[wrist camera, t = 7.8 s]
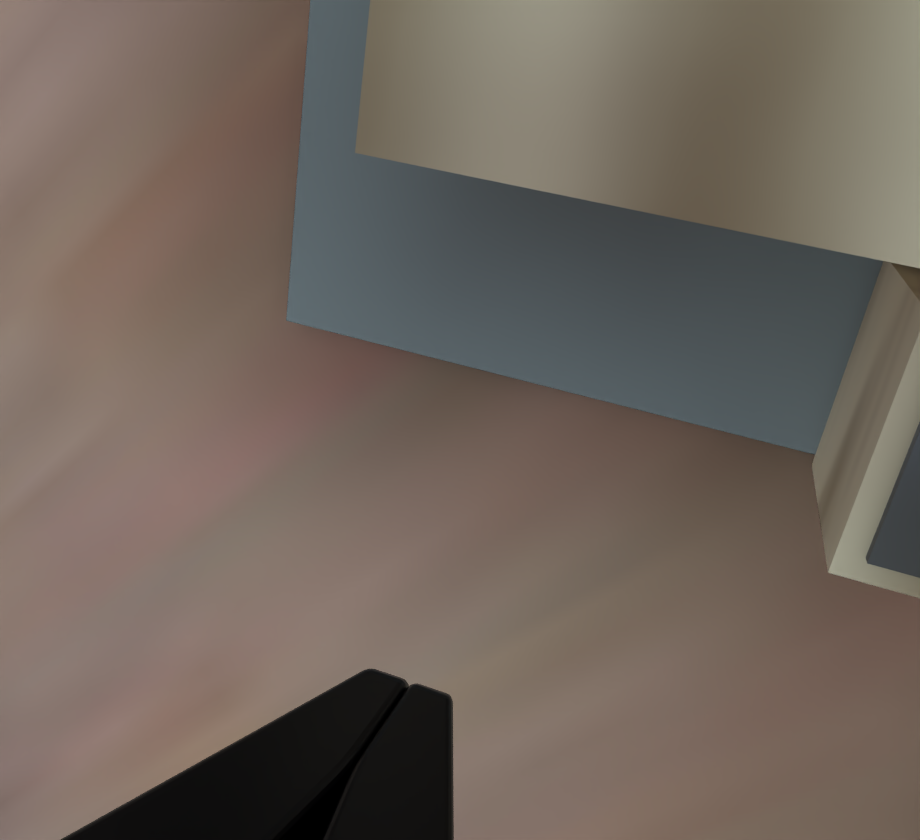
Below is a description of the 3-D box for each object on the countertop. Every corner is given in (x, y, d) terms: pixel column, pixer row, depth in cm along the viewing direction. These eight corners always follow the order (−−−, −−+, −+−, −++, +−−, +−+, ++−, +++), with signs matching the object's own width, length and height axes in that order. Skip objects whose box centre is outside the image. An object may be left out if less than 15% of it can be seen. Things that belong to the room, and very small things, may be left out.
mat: (1486, -370, 12) (1509, -385, 12) (1057, 509, 18) (1063, 517, 17) (353, -428, 16) (343, -440, 15) (294, 316, 21) (286, 320, 21)
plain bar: (1172, -14, 14) (1315, -44, 11) (1054, 260, 16) (1141, 313, 12) (464, -108, 17) (386, -157, 13) (431, 138, 18) (355, 152, 15)
